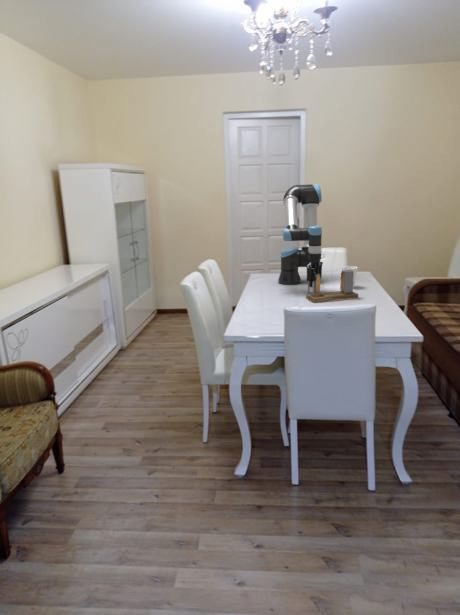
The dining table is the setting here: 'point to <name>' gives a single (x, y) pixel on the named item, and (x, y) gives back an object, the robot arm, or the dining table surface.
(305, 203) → the robot arm
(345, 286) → the mounted finger
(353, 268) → the foam cup
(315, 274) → the gray and orange block
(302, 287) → the dining table surface
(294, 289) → the dining table surface
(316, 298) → the rail
